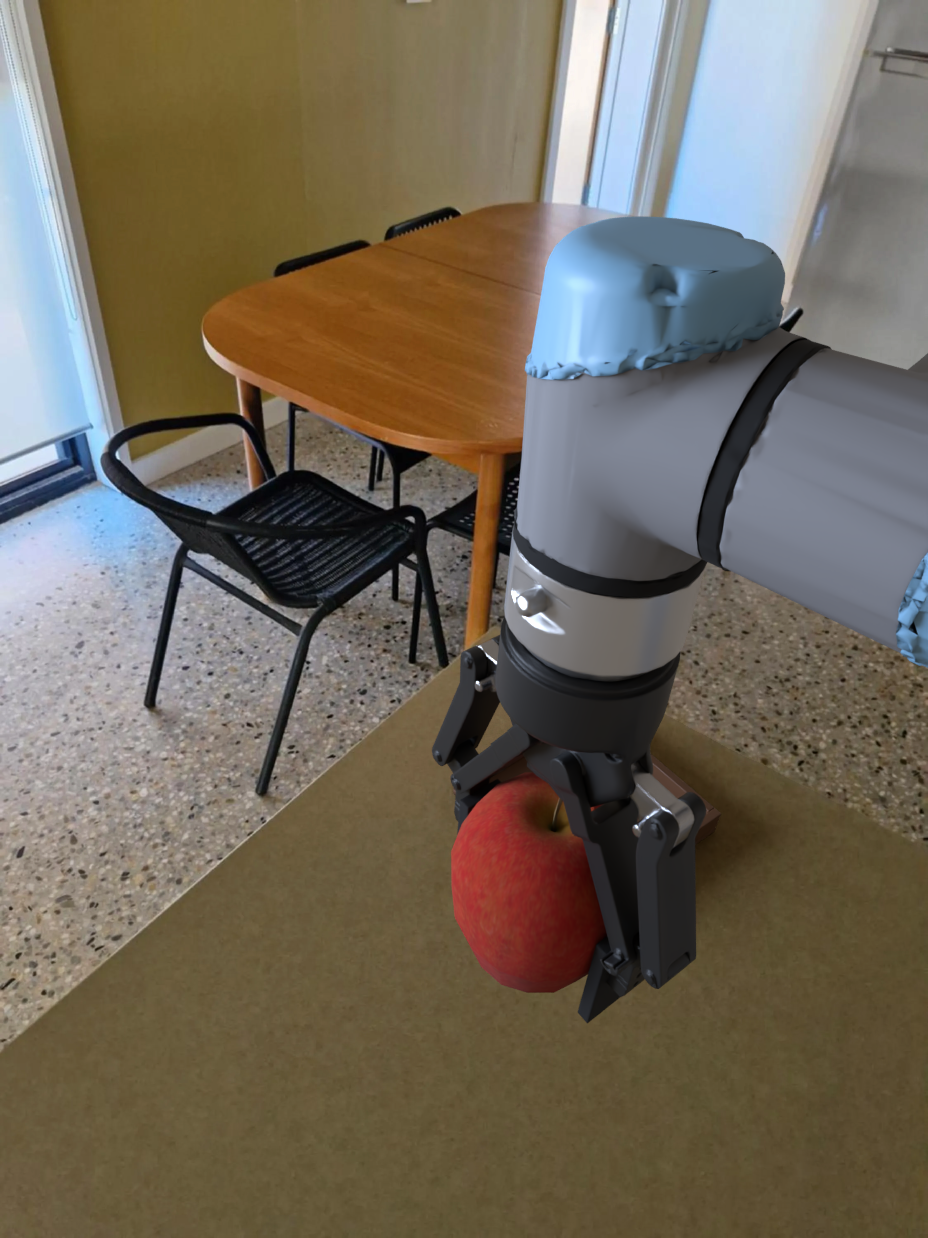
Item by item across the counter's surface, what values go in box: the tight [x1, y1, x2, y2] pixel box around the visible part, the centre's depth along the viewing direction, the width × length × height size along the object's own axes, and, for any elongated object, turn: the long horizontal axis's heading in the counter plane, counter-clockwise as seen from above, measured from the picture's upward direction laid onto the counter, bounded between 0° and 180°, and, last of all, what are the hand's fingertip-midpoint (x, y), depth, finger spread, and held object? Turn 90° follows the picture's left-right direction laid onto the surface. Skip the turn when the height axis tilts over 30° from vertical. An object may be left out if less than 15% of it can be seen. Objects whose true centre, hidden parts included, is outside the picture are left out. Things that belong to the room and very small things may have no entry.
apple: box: [450, 772, 607, 994], centre depth 47 cm, size 10×10×14 cm
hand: (534, 929), depth 51 cm, fingers closed on apple, 10 cm apart
